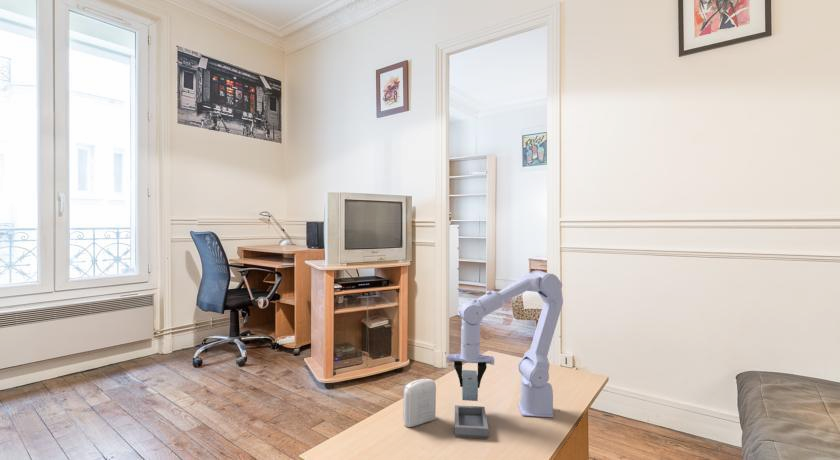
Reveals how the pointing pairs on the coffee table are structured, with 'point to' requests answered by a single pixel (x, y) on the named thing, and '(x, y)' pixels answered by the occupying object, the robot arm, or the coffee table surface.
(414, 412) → the photo printer
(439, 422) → the coffee table surface
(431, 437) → the coffee table surface
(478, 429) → the lock cradle
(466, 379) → the block
